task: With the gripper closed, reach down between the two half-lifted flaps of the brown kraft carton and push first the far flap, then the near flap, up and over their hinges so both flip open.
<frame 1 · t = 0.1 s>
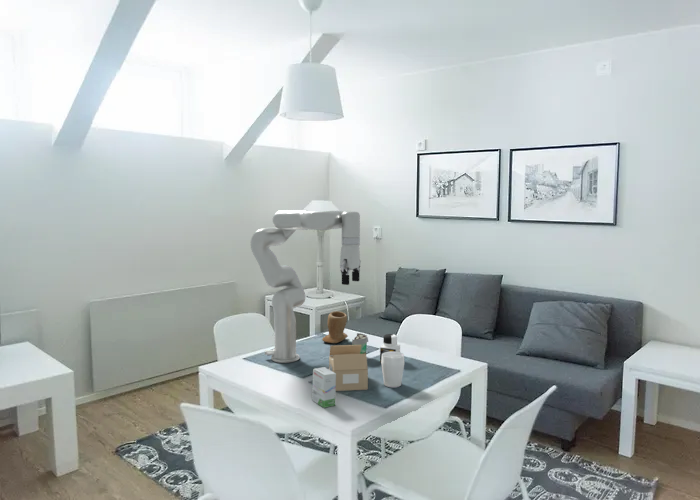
hand: (350, 282, 223), 37 cm above the table, tool pointing down, fingers open, 9 cm apart
cup: (392, 385, 209), on the table
carton: (347, 382, 212), on the table
medicine bottle: (390, 361, 239), on the table
far flap: (345, 350, 219), point 11 cm above the table, hinge at 55.0°
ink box: (324, 403, 191), on the table
near flap: (350, 362, 203), point 11 cm above the table, hinge at 55.0°
food container: (361, 358, 243), on the table
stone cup: (336, 341, 272), on the table
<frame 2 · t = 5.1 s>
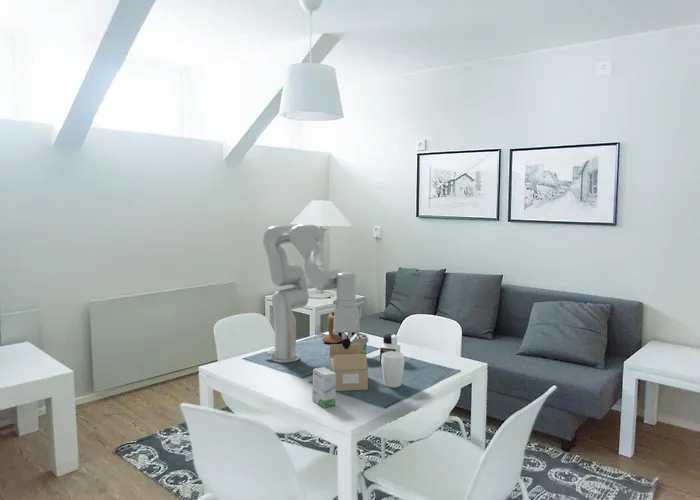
hand: (346, 348, 216), 12 cm above the table, tool pointing down, fingers closed
far flap: (345, 349, 219), point 11 cm above the table, hinge at 61.0°, touching gripper
everything else where it was.
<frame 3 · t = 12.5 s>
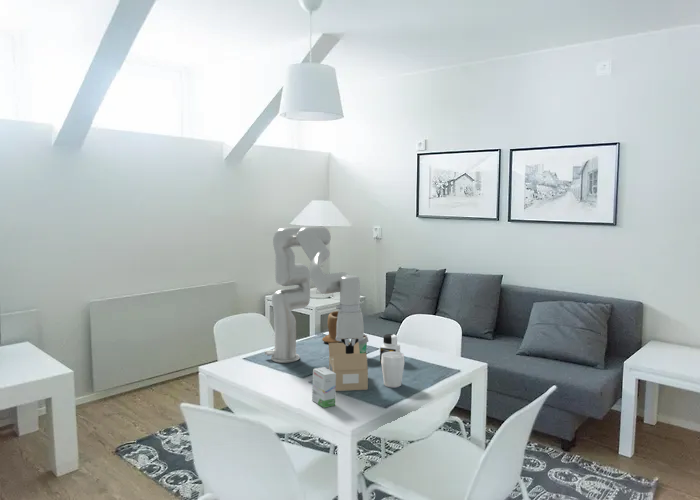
hand: (349, 355, 206), 12 cm above the table, tool pointing down, fingers closed
far flap: (344, 349, 223), point 10 cm above the table, hinge at 137.0°
near flap: (350, 361, 203), point 11 cm above the table, hinge at 63.6°, touching gripper
everything else where it was.
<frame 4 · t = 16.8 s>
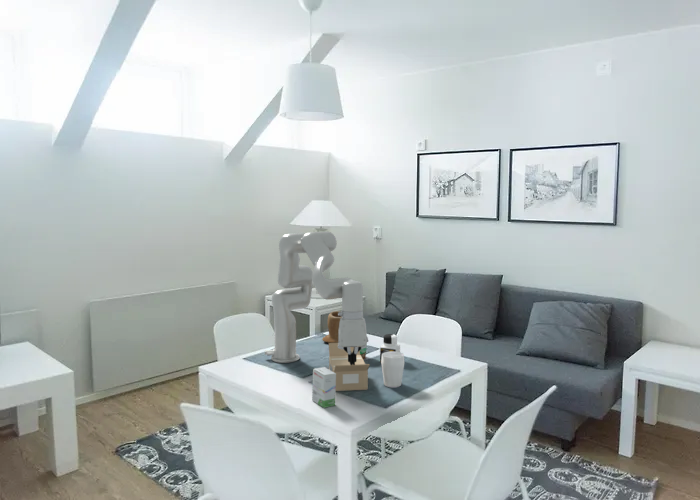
hand: (352, 363, 198), 12 cm above the table, tool pointing down, fingers closed
near flap: (351, 367, 200), point 10 cm above the table, hinge at 142.7°, touching gripper
everything else where it was.
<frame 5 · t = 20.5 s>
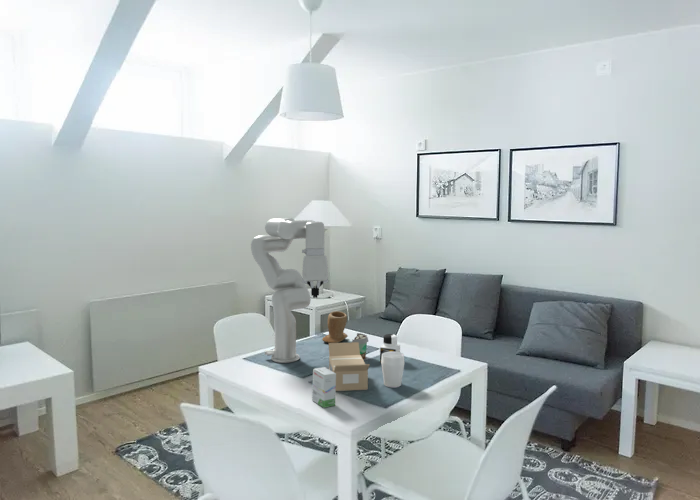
hand: (315, 297, 218), 32 cm above the table, tool pointing down, fingers closed
near flap: (351, 368, 200), point 10 cm above the table, hinge at 143.2°
everything else where it was.
at the end: far flap at +137° (first picture: +55°); near flap at +143° (first picture: +55°) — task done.
